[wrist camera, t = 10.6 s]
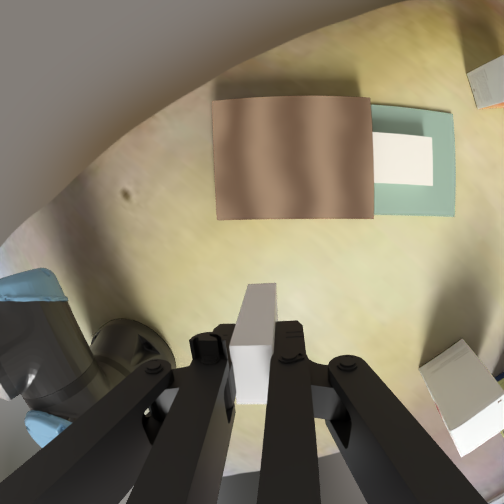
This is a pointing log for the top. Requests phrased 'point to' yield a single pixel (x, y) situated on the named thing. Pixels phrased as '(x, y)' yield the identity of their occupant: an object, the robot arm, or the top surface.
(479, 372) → the supplement box
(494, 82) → the small box
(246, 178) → the plate
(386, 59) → the top surface
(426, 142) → the tile
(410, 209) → the mat
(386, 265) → the top surface
